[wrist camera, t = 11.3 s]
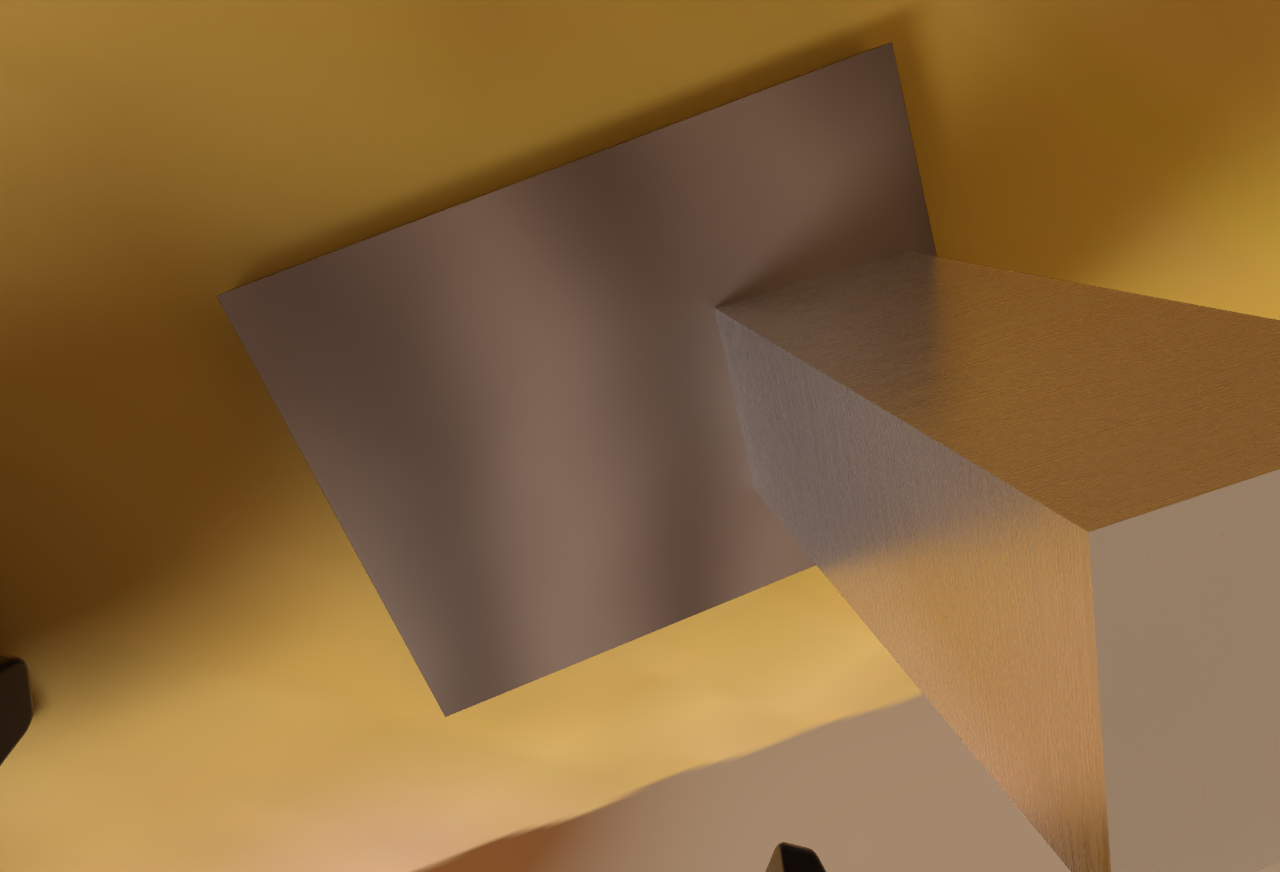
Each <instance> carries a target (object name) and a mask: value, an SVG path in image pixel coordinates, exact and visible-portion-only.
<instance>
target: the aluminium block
mask: <svg viewBox="0 0 1280 872" xmlns="http://www.w3.org/2000/svg"><path fill="white" fill-rule="evenodd" d="M714 310H715V314H716V319H717V323H718V328H719V332H720V337H721V341H722V345H723V350H724V354H725V359H726V363H727V368H728V372H729V377H730V381H731V386H732V390H733V395H734V399H735V404H736V408H737V412H738V417H739V421H740V426H741V430H742V435H743V439H744V444H745V448H746V453H747V457H748V462H749V466H750V470H751V475H752V479H753V484H754V488H755V492H756V493H757V494H758V495H759V496H760V498H761V499H762V500H763V501H764V502H765V504H766V505H767V506H768V507H769V508H770V510H771V511H772V512H773V513H774V514H775V516H776V517H777V518H778V519H779V521H780V522H781V523H782V524H783V525H784V527H785V528H786V529H787V530H788V531H789V533H790V534H791V535H792V536H793V537H794V539H795V540H796V541H797V542H798V543H799V545H800V546H801V547H802V548H803V549H804V551H805V552H806V553H807V554H808V555H809V557H810V558H811V559H812V560H813V562H814V563H815V564H816V565H817V566H818V568H819V569H820V570H821V571H822V572H823V574H824V575H825V576H826V577H827V578H828V580H829V581H830V582H831V583H832V584H833V586H834V587H835V588H836V589H837V590H838V592H839V593H840V594H841V595H842V596H843V598H844V599H845V600H846V601H847V602H848V604H849V605H850V606H851V607H852V609H853V610H854V611H855V612H856V613H857V615H858V616H859V617H860V618H861V619H862V621H863V622H864V623H865V624H866V625H867V627H868V628H869V629H870V630H871V631H872V633H873V634H874V635H875V636H876V637H877V639H878V640H879V641H880V642H881V643H882V645H883V646H884V647H885V648H886V649H887V651H888V652H889V653H890V654H891V656H892V657H893V658H894V659H895V660H896V662H897V663H898V664H899V665H900V666H901V668H902V669H903V670H904V671H905V672H906V674H907V675H908V676H909V677H910V678H911V680H912V681H913V682H914V683H915V684H916V686H917V687H918V688H919V689H920V690H921V692H922V693H923V694H924V695H925V696H926V698H927V699H928V700H929V701H930V703H931V704H932V705H933V706H934V707H935V708H936V710H937V711H938V712H939V713H940V715H941V716H942V717H943V718H944V719H945V721H946V722H947V723H948V724H949V725H950V727H951V728H952V729H953V730H954V731H955V733H957V735H958V736H959V737H960V738H961V740H962V741H963V742H964V743H965V745H966V746H967V747H968V748H969V749H970V751H971V752H972V753H973V754H974V756H975V757H976V758H977V759H978V760H979V762H980V763H981V764H982V765H983V766H984V768H985V769H986V770H987V771H988V772H989V774H990V775H991V776H992V777H993V778H994V780H995V781H996V782H997V783H998V784H999V786H1000V787H1001V788H1002V789H1003V790H1004V792H1005V793H1006V794H1007V795H1008V797H1009V798H1010V799H1011V800H1012V801H1013V803H1015V805H1016V806H1017V807H1018V809H1019V810H1020V811H1021V812H1022V813H1023V815H1024V816H1025V817H1026V818H1027V819H1028V821H1029V822H1030V823H1031V824H1032V825H1033V827H1034V828H1035V829H1036V830H1037V831H1038V833H1039V834H1040V835H1041V836H1042V837H1043V839H1044V840H1045V841H1046V842H1047V843H1048V845H1049V846H1050V847H1051V848H1052V849H1053V851H1054V852H1055V853H1056V854H1057V856H1058V857H1059V858H1060V859H1061V860H1062V862H1063V863H1064V864H1065V865H1066V866H1067V868H1068V869H1069V870H1070V871H1071V872H1256V871H1258V870H1261V869H1264V868H1266V867H1269V866H1271V865H1275V864H1277V863H1280V320H1275V319H1270V318H1264V317H1259V316H1254V315H1248V314H1243V313H1237V312H1232V311H1227V310H1221V309H1216V308H1210V307H1205V306H1199V305H1194V304H1189V303H1183V302H1178V301H1172V300H1167V299H1162V298H1156V297H1151V296H1145V295H1140V294H1135V293H1129V292H1124V291H1118V290H1113V289H1107V288H1102V287H1097V286H1091V285H1086V284H1080V283H1075V282H1070V281H1064V280H1059V279H1053V278H1048V277H1042V276H1037V275H1032V274H1026V273H1021V272H1015V271H1010V270H1005V269H999V268H994V267H988V266H983V265H977V264H972V263H967V262H961V261H956V260H950V259H945V258H940V257H934V256H929V255H923V254H918V253H913V252H907V251H906V252H903V253H899V254H896V255H892V256H889V257H885V258H882V259H879V260H875V261H872V262H868V263H865V264H862V265H858V266H855V267H851V268H848V269H844V270H841V271H838V272H834V273H831V274H827V275H824V276H820V277H817V278H814V279H810V280H807V281H803V282H800V283H797V284H793V285H790V286H786V287H783V288H779V289H776V290H773V291H769V292H766V293H762V294H759V295H755V296H752V297H749V298H745V299H742V300H738V301H735V302H731V303H728V304H725V305H721V306H718V307H714Z"/></svg>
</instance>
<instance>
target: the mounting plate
mask: <svg viewBox="0 0 1280 872" xmlns="http://www.w3.org/2000/svg"><path fill="white" fill-rule="evenodd" d="M906 251H907V252H913V253H918V254H923V255H929V256H934V257H937V255H936V250H935V246H934V241H933V236H932V232H931V227H930V222H929V217H928V213H927V208H926V203H925V198H924V194H923V189H922V184H921V179H920V175H919V170H918V165H917V160H916V156H915V151H914V146H913V141H912V137H911V132H910V127H909V123H908V118H907V113H906V108H905V104H904V99H903V94H902V89H901V85H900V80H899V75H898V70H897V66H896V61H895V56H894V51H893V47H892V42H891V43H888V44H885V45H882V46H879V47H876V48H873V49H870V50H867V51H865V52H862V53H860V54H857V55H854V56H852V57H849V58H846V59H844V60H841V61H838V62H836V63H833V64H830V65H828V66H825V67H822V68H820V69H817V70H814V71H812V72H809V73H806V74H804V75H801V76H798V77H796V78H793V79H790V80H788V81H785V82H782V83H780V84H777V85H774V86H772V87H769V88H766V89H764V90H761V91H758V92H756V93H753V94H750V95H748V96H745V97H742V98H740V99H737V100H734V101H732V102H729V103H726V104H724V105H721V106H718V107H716V108H713V109H710V110H708V111H705V112H702V113H700V114H697V115H694V116H692V117H689V118H686V119H684V120H681V121H679V122H676V123H673V124H671V125H668V126H665V127H663V128H660V129H657V130H655V131H652V132H649V133H647V134H644V135H641V136H639V137H636V138H633V139H631V140H628V141H625V142H623V143H620V144H617V145H615V146H612V147H609V148H607V149H604V150H601V151H599V152H596V153H593V154H591V155H588V156H585V157H583V158H580V159H577V160H575V161H572V162H569V163H567V164H564V165H561V166H559V167H556V168H553V169H551V170H548V171H545V172H543V173H540V174H537V175H535V176H532V177H529V178H527V179H524V180H521V181H519V182H516V183H513V184H511V185H508V186H506V187H503V188H500V189H498V190H495V191H492V192H490V193H487V194H484V195H482V196H479V197H476V198H474V199H471V200H468V201H466V202H463V203H460V204H458V205H455V206H452V207H450V208H447V209H444V210H442V211H439V212H436V213H434V214H431V215H428V216H426V217H423V218H420V219H418V220H415V221H412V222H410V223H407V224H404V225H402V226H399V227H396V228H394V229H391V230H388V231H386V232H383V233H380V234H378V235H375V236H372V237H370V238H367V239H364V240H362V241H359V242H356V243H354V244H351V245H348V246H346V247H343V248H340V249H338V250H335V251H332V252H330V253H327V254H325V255H322V256H319V257H317V258H314V259H311V260H309V261H306V262H303V263H301V264H298V265H295V266H293V267H290V268H287V269H285V270H282V271H279V272H277V273H274V274H271V275H269V276H266V277H263V278H261V279H258V280H255V281H253V282H250V283H247V284H245V285H242V286H239V287H237V288H234V289H232V290H229V291H227V292H225V293H222V294H220V295H218V296H217V298H218V300H219V302H220V304H221V306H222V307H223V309H224V311H225V313H226V315H227V317H228V318H229V320H230V322H231V324H232V326H233V328H234V329H235V331H236V333H237V335H238V337H239V339H240V340H241V342H242V344H243V346H244V348H245V350H246V352H247V353H248V355H249V357H250V359H251V361H252V363H253V364H254V366H255V368H256V370H257V372H258V374H259V375H260V377H261V379H262V381H263V383H264V385H265V386H266V388H267V390H268V392H269V394H270V396H271V397H272V399H273V401H274V403H275V405H276V407H277V408H278V410H279V412H280V414H281V416H282V418H283V419H284V421H285V423H286V425H287V427H288V429H289V430H290V432H291V434H292V436H293V438H294V440H295V442H296V443H297V445H298V447H299V449H300V451H301V453H302V454H303V456H304V458H305V460H306V462H307V464H308V465H309V467H310V469H311V471H312V473H313V475H314V476H315V478H316V480H317V482H318V484H319V486H320V487H321V489H322V491H323V493H324V495H325V497H326V498H327V500H328V502H329V504H330V506H331V508H332V509H333V511H334V513H335V515H336V517H337V519H338V520H339V522H340V524H341V526H342V528H343V530H344V532H345V533H346V535H347V537H348V539H349V541H350V543H351V544H352V546H353V548H354V550H355V552H356V554H357V555H358V557H359V559H360V561H361V563H362V565H363V566H364V568H365V570H366V572H367V574H368V576H369V577H370V579H371V581H372V583H373V585H374V587H375V588H376V590H377V592H378V594H379V596H380V598H381V599H382V601H383V603H384V605H385V607H386V609H387V610H388V612H389V614H390V616H391V618H392V620H393V622H394V623H395V625H396V627H397V629H398V631H399V633H400V634H401V636H402V638H403V640H404V642H405V644H406V645H407V647H408V649H409V651H410V653H411V655H412V656H413V658H414V660H415V662H416V664H417V666H418V667H419V669H420V671H421V673H422V675H423V677H424V678H425V680H426V682H427V684H428V686H429V688H430V689H431V691H432V693H433V695H434V697H435V699H436V700H437V702H438V704H439V706H440V708H441V710H442V712H443V713H444V715H445V717H446V716H449V715H451V714H454V713H456V712H458V711H461V710H463V709H466V708H468V707H471V706H473V705H476V704H478V703H480V702H483V701H485V700H488V699H490V698H493V697H495V696H498V695H500V694H502V693H505V692H507V691H510V690H512V689H515V688H517V687H519V686H522V685H524V684H527V683H529V682H532V681H534V680H537V679H539V678H541V677H544V676H546V675H549V674H551V673H554V672H556V671H559V670H561V669H563V668H566V667H568V666H571V665H573V664H576V663H578V662H581V661H583V660H585V659H588V658H590V657H593V656H595V655H598V654H600V653H602V652H605V651H607V650H610V649H612V648H615V647H617V646H620V645H622V644H624V643H627V642H629V641H632V640H634V639H637V638H639V637H642V636H644V635H646V634H649V633H651V632H654V631H656V630H659V629H661V628H664V627H666V626H668V625H671V624H673V623H676V622H678V621H681V620H683V619H685V618H688V617H690V616H693V615H695V614H698V613H700V612H703V611H705V610H707V609H710V608H712V607H715V606H717V605H720V604H722V603H725V602H727V601H729V600H732V599H734V598H737V597H739V596H742V595H744V594H747V593H749V592H751V591H754V590H756V589H759V588H761V587H764V586H766V585H768V584H771V583H773V582H776V581H778V580H781V579H783V578H786V577H788V576H790V575H793V574H795V573H798V572H800V571H803V570H805V569H808V568H810V567H812V566H815V565H816V564H815V563H814V562H813V560H812V559H811V558H810V557H809V555H808V554H807V553H806V552H805V551H804V549H803V548H802V547H801V546H800V545H799V543H798V542H797V541H796V540H795V539H794V537H793V536H792V535H791V534H790V533H789V531H788V530H787V529H786V528H785V527H784V525H783V524H782V523H781V522H780V521H779V519H778V518H777V517H776V516H775V514H774V513H773V512H772V511H771V510H770V508H769V507H768V506H767V505H766V504H765V502H764V501H763V500H762V499H761V498H760V496H759V495H758V494H757V493H756V492H755V488H754V484H753V479H752V475H751V470H750V466H749V462H748V457H747V453H746V448H745V444H744V439H743V435H742V430H741V426H740V421H739V417H738V412H737V408H736V404H735V399H734V395H733V390H732V386H731V381H730V377H729V372H728V368H727V363H726V359H725V354H724V350H723V345H722V341H721V337H720V332H719V328H718V323H717V319H716V314H715V310H714V307H718V306H721V305H725V304H728V303H731V302H735V301H738V300H742V299H745V298H749V297H752V296H755V295H759V294H762V293H766V292H769V291H773V290H776V289H779V288H783V287H786V286H790V285H793V284H797V283H800V282H803V281H807V280H810V279H814V278H817V277H820V276H824V275H827V274H831V273H834V272H838V271H841V270H844V269H848V268H851V267H855V266H858V265H862V264H865V263H868V262H872V261H875V260H879V259H882V258H885V257H889V256H892V255H896V254H899V253H903V252H906Z"/></svg>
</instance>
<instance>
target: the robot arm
mask: <svg viewBox="0 0 1280 872" xmlns="http://www.w3.org/2000/svg"><path fill="white" fill-rule="evenodd" d="M32 717H33V701H32V694H31V686H30V678H29V671H28V666H27V664H26V663H25V662H24V660H22V659H20V658H18V657H13V656H9V655H5V654H1V653H0V765H1V764H2V763H3V761H4V760H5V759H6V758H7V756H8V755H9V754H10V752H11V751H12V750H13V748H14V747H15V746H16V744H17V743H18V742H19V741H20V739H21V738H22V737H23V735H24V734H25V732H26V731H27V729H28V727H29V725H30V723H31V720H32ZM766 872H826V871H825V869H824V867H823V865H822V863H821V861H820V859H819V858H818V856H817V855H816V853H815V852H814V851H813V850H811V849H809V848H806V847H802V846H798V845H793V844H789V843H785V842H782V843H779V844H778V846H777V847H776V848H775V850H774V852H773V855H772V857H771V860H770V863H769V865H768V867H767V870H766Z"/></svg>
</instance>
